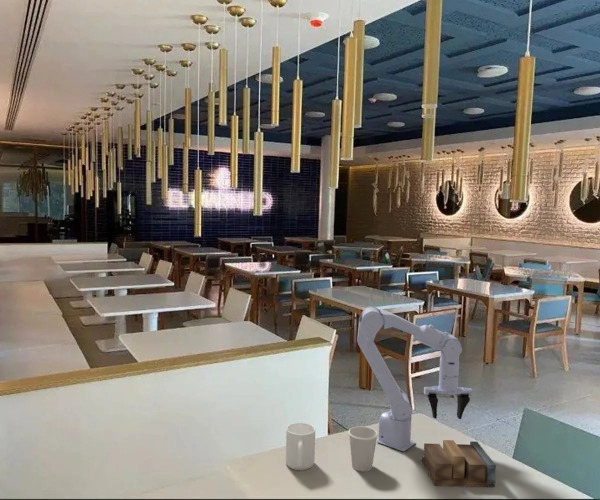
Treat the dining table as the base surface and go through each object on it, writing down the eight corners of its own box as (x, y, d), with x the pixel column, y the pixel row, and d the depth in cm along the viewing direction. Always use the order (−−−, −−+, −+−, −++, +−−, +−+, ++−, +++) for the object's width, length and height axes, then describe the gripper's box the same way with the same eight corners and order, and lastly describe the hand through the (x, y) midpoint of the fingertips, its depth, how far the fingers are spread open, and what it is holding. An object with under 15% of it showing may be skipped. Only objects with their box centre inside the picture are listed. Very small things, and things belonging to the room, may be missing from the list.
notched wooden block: (434, 485, 133) (435, 463, 133) (421, 460, 147) (422, 440, 147) (494, 487, 133) (495, 465, 133) (476, 461, 147) (477, 441, 147)
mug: (315, 478, 135) (316, 441, 134) (284, 477, 135) (285, 440, 134) (314, 457, 147) (315, 423, 146) (285, 456, 147) (286, 422, 146)
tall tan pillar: (452, 478, 135) (453, 456, 135) (442, 460, 145) (443, 440, 145) (464, 478, 135) (465, 456, 135) (452, 460, 145) (453, 440, 145)
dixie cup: (342, 469, 140) (343, 434, 140) (353, 456, 148) (354, 423, 147) (370, 476, 137) (372, 441, 136) (380, 464, 144) (382, 430, 143)
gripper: (428, 378, 150) (426, 422, 151) (476, 379, 150) (474, 423, 151) (422, 370, 157) (421, 413, 158) (468, 372, 157) (466, 414, 158)
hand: (446, 417), depth 155 cm, fingers open, 7 cm apart
